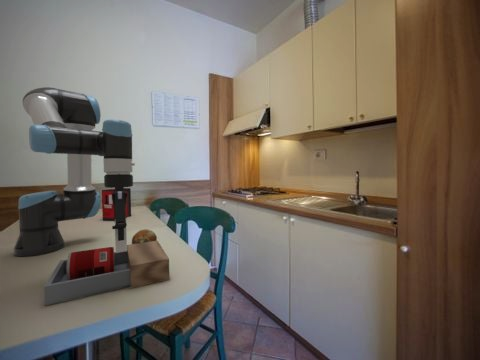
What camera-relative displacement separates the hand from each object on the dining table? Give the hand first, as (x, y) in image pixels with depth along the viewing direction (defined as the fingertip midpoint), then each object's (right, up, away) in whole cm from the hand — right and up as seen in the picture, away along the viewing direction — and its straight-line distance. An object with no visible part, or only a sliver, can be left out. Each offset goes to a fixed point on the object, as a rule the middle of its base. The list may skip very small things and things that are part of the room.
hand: (120, 244), depth 68 cm
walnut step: (+6, -9, +4) cm, 12 cm away
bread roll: (-6, -9, +31) cm, 32 cm away
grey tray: (-6, -9, -3) cm, 12 cm away
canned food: (-2, -5, +1) cm, 5 cm away
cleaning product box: (-47, -7, +86) cm, 98 cm away
